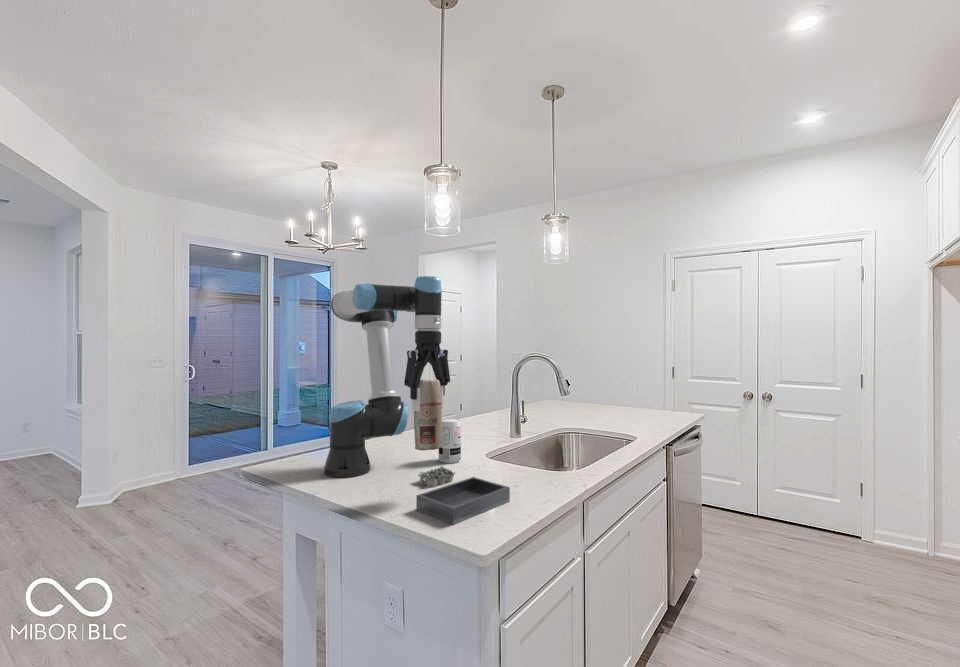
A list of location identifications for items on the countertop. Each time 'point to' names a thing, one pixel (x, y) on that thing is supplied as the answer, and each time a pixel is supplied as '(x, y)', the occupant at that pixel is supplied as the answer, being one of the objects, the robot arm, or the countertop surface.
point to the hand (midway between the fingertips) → (428, 409)
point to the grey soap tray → (462, 500)
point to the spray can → (429, 416)
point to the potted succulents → (436, 477)
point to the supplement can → (450, 441)
